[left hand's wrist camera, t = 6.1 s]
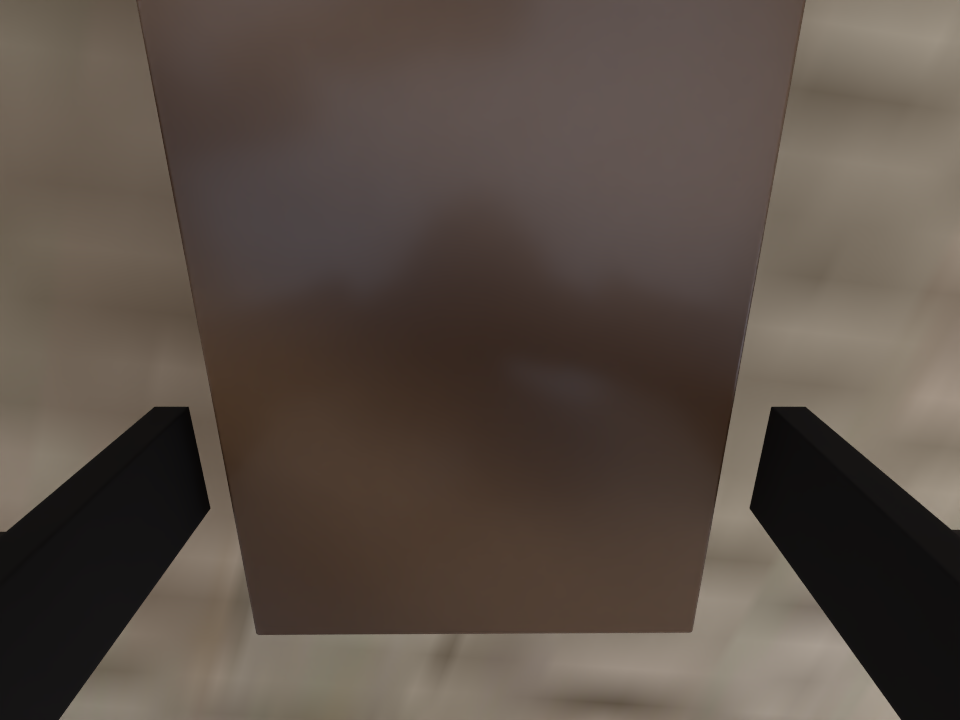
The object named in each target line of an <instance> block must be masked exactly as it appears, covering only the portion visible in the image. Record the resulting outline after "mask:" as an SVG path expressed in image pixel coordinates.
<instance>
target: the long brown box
mask: <svg viewBox="0 0 960 720" xmlns="http://www.w3.org/2000/svg"><path fill="white" fill-rule="evenodd" d="M136 1H137V6H138V11H139V17H140V22H141V27H142V33H143V38H144V43H145V48H146V54H147V59H148V64H149V69H150V75H151V80H152V85H153V91H154V96H155V101H156V106H157V112H158V117H159V122H160V127H161V133H162V138H163V143H164V149H165V154H166V159H167V164H168V170H169V175H170V180H171V185H172V191H173V196H174V201H175V206H176V212H177V217H178V222H179V228H180V233H181V238H182V243H183V249H184V254H185V259H186V264H187V270H188V275H189V280H190V286H191V291H192V296H193V301H194V307H195V312H196V317H197V322H198V328H199V333H200V338H201V344H202V349H203V354H204V359H205V365H206V370H207V375H208V380H209V386H210V391H211V396H212V402H213V407H214V412H215V417H216V423H217V428H218V433H219V438H220V444H221V449H222V454H223V460H224V465H225V470H226V475H227V481H228V486H229V491H230V496H231V502H232V507H233V512H234V518H235V523H236V528H237V533H238V539H239V544H240V549H241V554H242V560H243V565H244V570H245V575H246V581H247V586H248V591H249V597H250V602H251V607H252V612H253V618H254V623H255V628H256V633H257V634H258V635H313V634H501V633H689V632H692V630H693V624H694V619H695V613H696V608H697V602H698V596H699V591H700V585H701V580H702V574H703V569H704V563H705V557H706V552H707V546H708V541H709V535H710V530H711V524H712V519H713V513H714V507H715V502H716V496H717V491H718V485H719V480H720V474H721V468H722V463H723V457H724V452H725V446H726V441H727V435H728V429H729V424H730V418H731V413H732V407H733V402H734V396H735V391H736V385H737V379H738V374H739V368H740V363H741V357H742V352H743V346H744V340H745V335H746V329H747V324H748V318H749V313H750V307H751V302H752V296H753V290H754V285H755V279H756V274H757V268H758V263H759V257H760V251H761V246H762V240H763V235H764V229H765V224H766V218H767V212H768V207H769V201H770V196H771V190H772V185H773V179H774V174H775V168H776V162H777V157H778V151H779V146H780V140H781V135H782V129H783V123H784V118H785V112H786V107H787V101H788V96H789V90H790V84H791V79H792V73H793V68H794V62H795V57H796V51H797V46H798V40H799V34H800V29H801V23H802V18H803V12H804V7H805V1H806V0H136Z"/></svg>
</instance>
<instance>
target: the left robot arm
mask: <svg viewBox="0 0 960 720" xmlns="http://www.w3.org/2000/svg"><path fill="white" fill-rule="evenodd" d="M209 510H210V504H209V500H208V495H207V490H206V486H205V481H204V476H203V472H202V467H201V462H200V458H199V453H198V448H197V444H196V439H195V434H194V430H193V425H192V420H191V416H190V411H189V407H154V408H153V409H151V410H150V411H149V412H148V413H147V414H146V415H144V416H143V417H142V418H141V419H140V420H138V421H137V422H136V423H135V424H134V425H132V426H131V427H130V428H129V429H128V430H127V431H125V432H124V433H123V434H122V435H121V436H119V437H118V438H117V439H116V440H115V441H113V442H112V443H111V444H110V445H109V446H108V447H106V448H105V449H104V450H103V451H102V452H100V453H99V454H98V455H97V456H96V457H94V458H93V459H92V460H91V461H90V462H89V463H87V464H86V465H85V466H84V467H83V468H81V469H80V470H79V471H78V472H77V473H75V474H74V475H73V476H72V477H71V478H70V479H68V480H67V481H66V482H65V483H64V484H62V485H61V486H60V487H59V488H58V489H56V490H55V491H54V492H53V493H52V494H51V495H49V496H48V497H47V498H46V499H45V500H43V501H42V502H41V503H40V504H39V505H38V506H36V507H35V508H34V509H33V510H32V511H30V512H29V513H28V514H27V515H26V516H24V517H23V518H22V519H21V520H20V521H19V522H17V523H16V524H15V525H14V526H13V527H11V528H10V529H9V530H8V531H7V532H0V720H59V719H60V717H61V716H62V715H63V713H64V712H65V710H66V709H67V708H68V706H69V705H70V703H71V702H72V701H73V699H74V698H75V696H76V695H77V694H78V692H79V691H80V689H81V688H82V687H83V685H84V684H85V683H86V681H87V680H88V678H89V677H90V676H91V674H92V673H93V671H94V670H95V669H96V667H97V666H98V664H99V663H100V662H101V660H102V659H103V657H104V656H105V655H106V653H107V652H108V650H109V649H110V648H111V646H112V645H113V643H114V642H115V641H116V639H117V638H118V637H119V635H120V634H121V632H122V631H123V630H124V628H125V627H126V625H127V624H128V623H129V621H130V620H131V618H132V617H133V616H134V614H135V613H136V611H137V610H138V609H139V607H140V606H141V604H142V603H143V602H144V600H145V599H146V597H147V596H148V595H149V593H150V592H151V591H152V589H153V588H154V586H155V585H156V584H157V582H158V581H159V579H160V578H161V577H162V575H163V574H164V572H165V571H166V570H167V568H168V567H169V565H170V564H171V563H172V561H173V560H174V558H175V557H176V556H177V554H178V553H179V551H180V550H181V549H182V547H183V546H184V545H185V543H186V542H187V540H188V539H189V538H190V536H191V535H192V533H193V532H194V531H195V529H196V528H197V526H198V525H199V524H200V522H201V521H202V519H203V518H204V517H205V515H206V514H207V512H208V511H209ZM750 510H751V511H752V512H753V514H754V515H755V517H756V518H757V519H758V521H759V522H760V524H761V525H762V526H763V528H764V529H765V531H766V532H767V533H768V535H769V536H770V538H771V539H772V540H773V542H774V543H775V545H776V546H777V547H778V549H779V550H780V551H781V553H782V554H783V556H784V557H785V558H786V560H787V561H788V563H789V564H790V565H791V567H792V568H793V570H794V571H795V572H796V574H797V575H798V577H799V578H800V579H801V581H802V582H803V584H804V585H805V586H806V588H807V589H808V591H809V592H810V593H811V595H812V596H813V597H814V599H815V600H816V602H817V603H818V604H819V606H820V607H821V609H822V610H823V611H824V613H825V614H826V616H827V617H828V618H829V620H830V621H831V623H832V624H833V625H834V627H835V628H836V630H837V631H838V632H839V634H840V635H841V637H842V638H843V639H844V641H845V642H846V643H847V645H848V646H849V648H850V649H851V650H852V652H853V653H854V655H855V656H856V657H857V659H858V660H859V662H860V663H861V664H862V666H863V667H864V669H865V670H866V671H867V673H868V674H869V676H870V677H871V678H872V680H873V681H874V683H875V684H876V685H877V687H878V688H879V689H880V691H881V692H882V694H883V695H884V696H885V698H886V699H887V701H888V702H889V703H890V705H891V706H892V708H893V709H894V710H895V712H896V713H897V715H898V716H899V717H900V719H901V720H960V530H951V529H950V528H949V527H947V526H946V525H945V524H944V523H943V522H941V521H940V520H939V519H938V518H937V517H936V516H934V515H933V514H932V513H931V512H930V511H928V510H927V509H926V508H925V507H924V506H922V505H921V504H920V503H919V502H918V501H917V500H915V499H914V498H913V497H912V496H911V495H909V494H908V493H907V492H906V491H905V490H904V489H902V488H901V487H900V486H899V485H898V484H896V483H895V482H894V481H893V480H892V479H890V478H889V477H888V476H887V475H886V474H885V473H883V472H882V471H881V470H880V469H879V468H877V467H876V466H875V465H874V464H873V463H871V462H870V461H869V460H868V459H867V458H866V457H864V456H863V455H862V454H861V453H860V452H858V451H857V450H856V449H855V448H854V447H852V446H851V445H850V444H849V443H848V442H847V441H845V440H844V439H843V438H842V437H841V436H839V435H838V434H837V433H836V432H835V431H833V430H832V429H831V428H830V427H829V426H828V425H826V424H825V423H824V422H823V421H822V420H820V419H819V418H818V417H817V416H816V415H814V414H813V413H812V412H811V411H810V410H809V409H807V408H806V407H771V411H770V416H769V420H768V425H767V430H766V434H765V439H764V444H763V448H762V453H761V458H760V462H759V467H758V472H757V476H756V481H755V486H754V490H753V495H752V500H751V504H750Z"/></svg>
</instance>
